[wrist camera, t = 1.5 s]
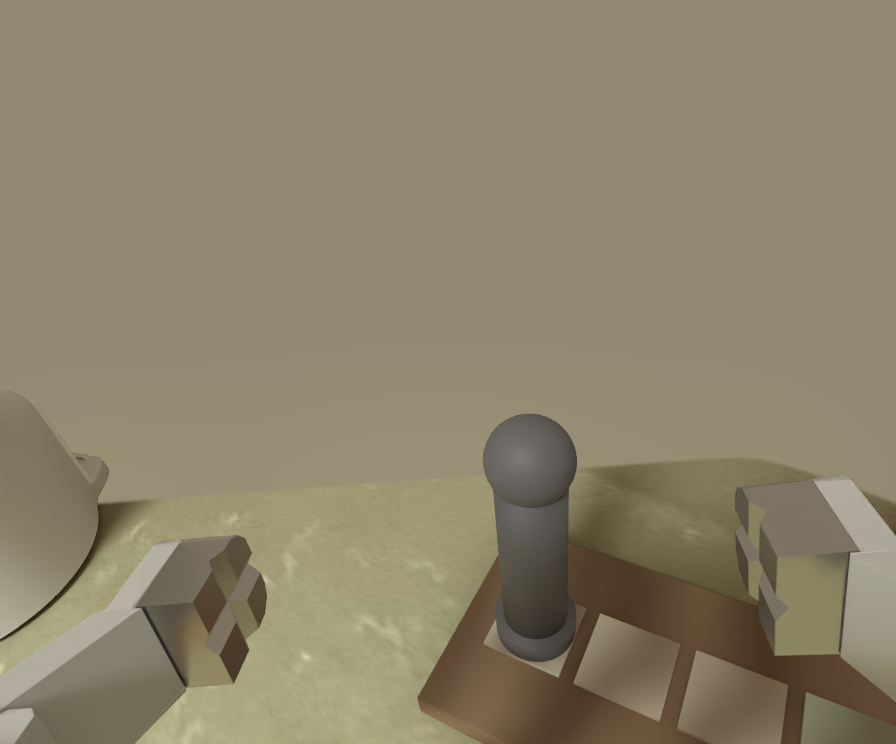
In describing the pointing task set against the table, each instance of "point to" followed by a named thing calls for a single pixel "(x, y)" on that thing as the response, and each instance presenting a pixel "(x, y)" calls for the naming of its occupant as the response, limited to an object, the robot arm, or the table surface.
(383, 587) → the table surface
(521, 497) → the pawn
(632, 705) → the track board
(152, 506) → the table surface
